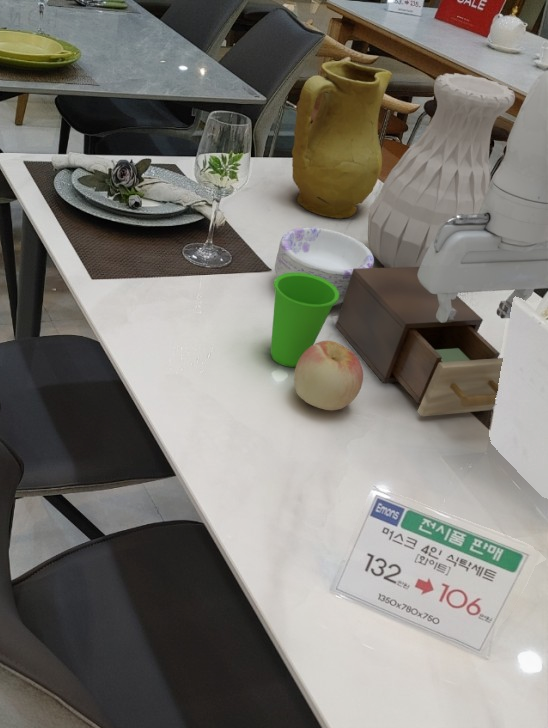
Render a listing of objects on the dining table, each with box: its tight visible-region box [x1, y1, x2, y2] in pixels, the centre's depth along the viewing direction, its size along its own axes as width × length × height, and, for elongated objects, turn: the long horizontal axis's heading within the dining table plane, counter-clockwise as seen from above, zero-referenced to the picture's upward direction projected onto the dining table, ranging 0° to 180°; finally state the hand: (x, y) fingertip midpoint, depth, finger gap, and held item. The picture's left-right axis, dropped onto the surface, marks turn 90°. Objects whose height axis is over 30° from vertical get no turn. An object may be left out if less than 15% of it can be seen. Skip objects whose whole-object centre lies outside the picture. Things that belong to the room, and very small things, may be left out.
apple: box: [293, 340, 364, 411], centre depth 101 cm, size 9×9×8 cm
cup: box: [270, 273, 339, 368], centre depth 108 cm, size 9×9×11 cm
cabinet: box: [335, 267, 484, 384], centre depth 113 cm, size 16×13×10 cm
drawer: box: [391, 325, 504, 417], centre depth 105 cm, size 19×11×8 cm, turn 17°
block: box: [436, 348, 470, 362], centre depth 106 cm, size 4×4×4 cm
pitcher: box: [291, 60, 393, 220], centre depth 147 cm, size 17×19×25 cm
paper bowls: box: [274, 226, 375, 307], centre depth 124 cm, size 15×15×8 cm
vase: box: [367, 72, 516, 268], centre depth 129 cm, size 20×20×30 cm
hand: (473, 318), depth 100 cm, fingers open, 8 cm apart
